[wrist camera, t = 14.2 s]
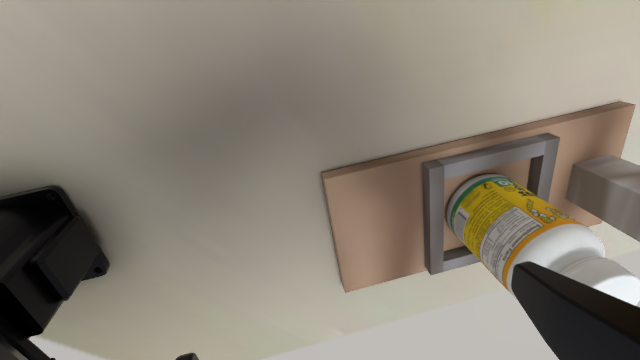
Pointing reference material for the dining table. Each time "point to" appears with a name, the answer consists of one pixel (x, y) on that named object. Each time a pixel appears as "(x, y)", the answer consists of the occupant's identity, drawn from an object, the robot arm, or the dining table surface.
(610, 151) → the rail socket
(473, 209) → the supplement bottle
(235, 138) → the dining table surface
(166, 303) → the dining table surface
